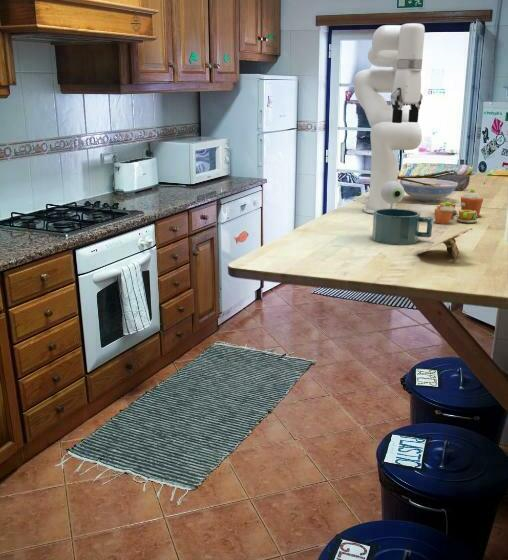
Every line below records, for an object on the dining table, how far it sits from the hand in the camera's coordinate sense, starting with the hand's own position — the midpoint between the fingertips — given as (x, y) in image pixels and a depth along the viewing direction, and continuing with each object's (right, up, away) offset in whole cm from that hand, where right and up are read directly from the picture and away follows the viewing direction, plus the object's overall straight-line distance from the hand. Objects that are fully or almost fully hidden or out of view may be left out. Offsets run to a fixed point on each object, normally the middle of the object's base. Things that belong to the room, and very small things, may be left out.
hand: (405, 122), depth 203 cm
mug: (-5, -39, -17) cm, 43 cm away
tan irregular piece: (+1, -45, -36) cm, 57 cm away
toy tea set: (+21, -29, +16) cm, 40 cm away
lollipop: (-5, -34, -1) cm, 35 cm away
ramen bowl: (+21, -18, +53) cm, 60 cm away
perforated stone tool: (+41, -10, +83) cm, 93 cm away
